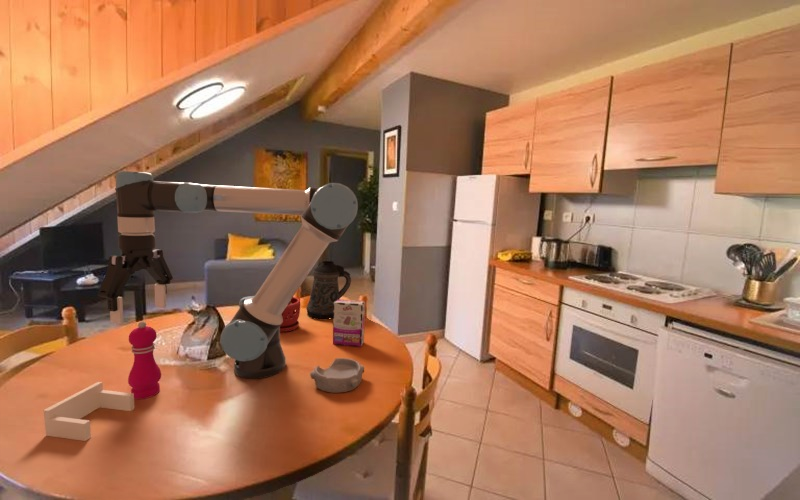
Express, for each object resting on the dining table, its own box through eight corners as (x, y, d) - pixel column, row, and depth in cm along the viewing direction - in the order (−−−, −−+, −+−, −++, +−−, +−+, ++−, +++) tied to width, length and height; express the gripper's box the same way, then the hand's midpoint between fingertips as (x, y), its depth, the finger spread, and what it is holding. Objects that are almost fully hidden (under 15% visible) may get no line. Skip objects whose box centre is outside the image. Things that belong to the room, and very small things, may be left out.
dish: (305, 388, 103) (305, 372, 102) (330, 368, 116) (330, 353, 115) (350, 400, 98) (350, 383, 97) (371, 377, 111) (371, 362, 110)
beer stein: (299, 313, 167) (299, 261, 164) (331, 305, 182) (333, 257, 179) (321, 322, 157) (322, 266, 153) (354, 313, 171) (355, 262, 168)
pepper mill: (145, 402, 92) (141, 327, 89) (121, 397, 93) (117, 324, 91) (168, 388, 99) (165, 318, 96) (146, 384, 100) (142, 315, 98)
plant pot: (276, 321, 155) (276, 294, 154) (304, 324, 153) (305, 297, 152) (260, 332, 142) (260, 303, 141) (291, 335, 141) (291, 306, 139)
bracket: (134, 408, 89) (133, 385, 88) (85, 441, 77) (83, 415, 76) (99, 404, 90) (98, 381, 89) (45, 435, 78) (43, 410, 77)
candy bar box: (364, 342, 138) (365, 300, 135) (361, 347, 133) (362, 304, 130) (336, 339, 139) (337, 298, 137) (332, 344, 134) (333, 302, 132)
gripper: (161, 229, 103) (164, 300, 106) (73, 237, 79) (79, 329, 81) (185, 230, 102) (187, 302, 105) (104, 239, 78) (109, 332, 81)
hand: (140, 314), depth 93 cm, fingers open, 13 cm apart
